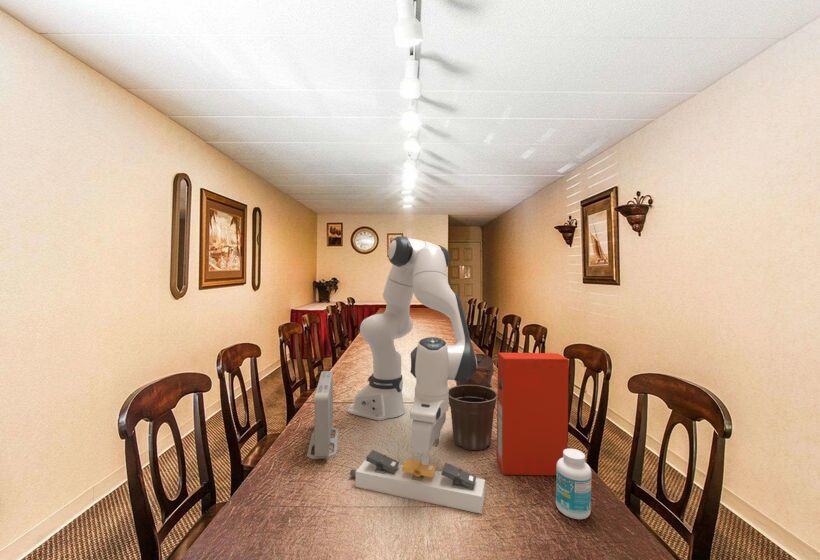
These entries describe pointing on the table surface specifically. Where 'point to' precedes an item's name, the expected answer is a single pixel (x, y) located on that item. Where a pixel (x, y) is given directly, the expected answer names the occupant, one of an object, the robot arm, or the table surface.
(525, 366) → the file binder
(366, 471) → the power strip
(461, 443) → the plant pot
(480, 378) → the case
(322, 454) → the network device
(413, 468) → the rocker middle orange
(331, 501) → the table surface
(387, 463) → the rocker left black
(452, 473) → the rocker right black
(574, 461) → the pill bottle
